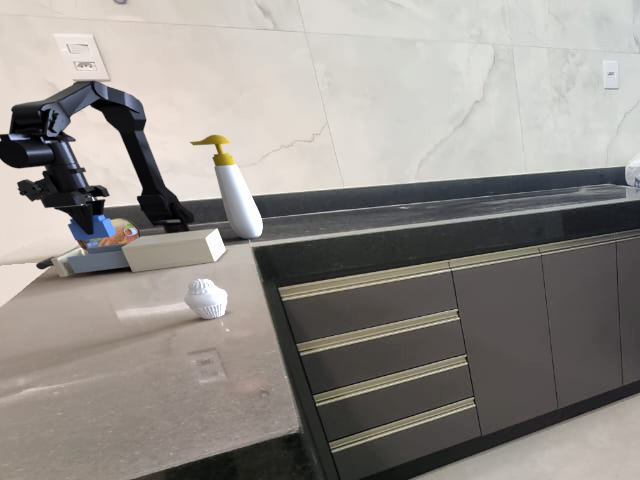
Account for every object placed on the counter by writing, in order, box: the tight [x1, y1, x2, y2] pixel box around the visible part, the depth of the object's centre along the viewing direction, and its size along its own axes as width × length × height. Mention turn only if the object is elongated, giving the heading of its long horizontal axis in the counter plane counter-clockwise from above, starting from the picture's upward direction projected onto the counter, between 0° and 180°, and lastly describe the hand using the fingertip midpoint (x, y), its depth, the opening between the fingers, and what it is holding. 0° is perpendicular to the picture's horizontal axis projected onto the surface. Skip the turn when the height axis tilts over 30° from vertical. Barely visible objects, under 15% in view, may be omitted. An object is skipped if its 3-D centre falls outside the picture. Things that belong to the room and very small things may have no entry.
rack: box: [35, 243, 130, 278], centre depth 130 cm, size 20×13×4 cm
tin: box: [76, 217, 142, 252], centre depth 151 cm, size 15×3×8 cm, turn 168°
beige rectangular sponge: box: [121, 228, 226, 273], centre depth 136 cm, size 17×15×6 cm
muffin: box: [183, 278, 228, 320], centre depth 94 cm, size 6×6×7 cm
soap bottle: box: [189, 134, 263, 240], centre depth 155 cm, size 13×10×29 cm
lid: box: [67, 214, 116, 241], centre depth 127 cm, size 5×6×6 cm
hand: (94, 232), depth 128 cm, fingers closed on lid, 4 cm apart
